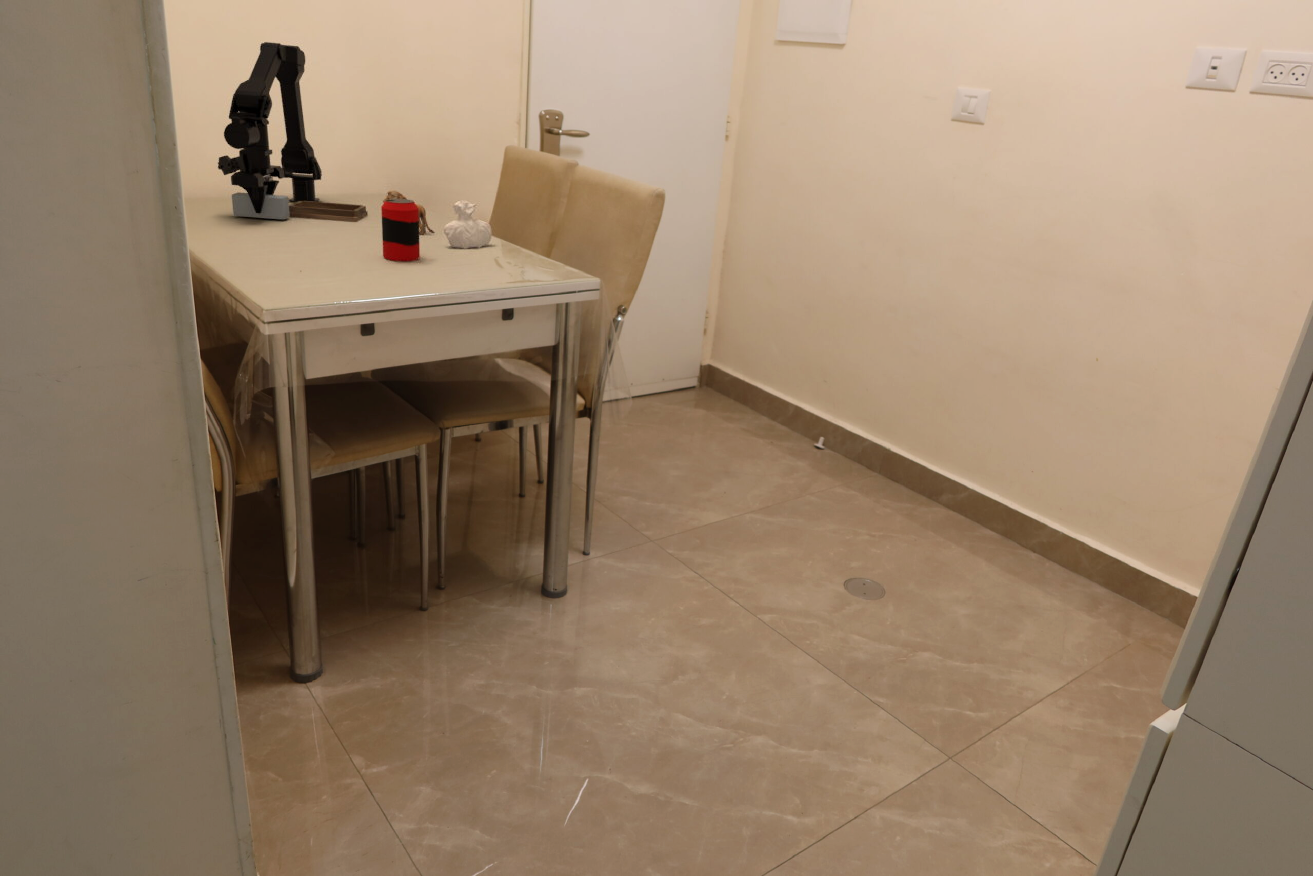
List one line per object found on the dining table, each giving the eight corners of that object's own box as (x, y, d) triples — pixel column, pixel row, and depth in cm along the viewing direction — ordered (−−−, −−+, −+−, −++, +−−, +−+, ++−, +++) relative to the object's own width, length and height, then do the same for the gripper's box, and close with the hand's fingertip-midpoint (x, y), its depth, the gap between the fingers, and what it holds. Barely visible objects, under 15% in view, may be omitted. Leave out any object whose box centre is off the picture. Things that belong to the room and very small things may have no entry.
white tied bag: (488, 253, 216) (474, 210, 217) (502, 238, 210) (487, 194, 212) (443, 256, 209) (428, 212, 210) (455, 241, 203) (440, 196, 204)
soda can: (381, 254, 196) (379, 197, 191) (416, 254, 199) (415, 198, 194) (385, 261, 190) (383, 203, 185) (422, 261, 192) (421, 204, 188)
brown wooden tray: (301, 209, 237) (300, 200, 236) (367, 214, 238) (367, 205, 237) (287, 216, 226) (286, 206, 225) (356, 221, 228) (355, 211, 227)
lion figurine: (380, 227, 224) (379, 190, 220) (395, 225, 228) (394, 188, 225) (427, 236, 218) (426, 198, 214) (441, 233, 222) (441, 196, 219)
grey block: (240, 213, 223) (238, 192, 221) (289, 216, 224) (288, 196, 222) (233, 215, 220) (231, 194, 218) (284, 219, 220) (282, 198, 218)
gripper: (236, 139, 223) (242, 203, 229) (204, 145, 206) (211, 215, 212) (282, 142, 224) (287, 206, 230) (254, 149, 207) (260, 219, 213)
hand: (261, 211), depth 221 cm, fingers closed on grey block, 4 cm apart
